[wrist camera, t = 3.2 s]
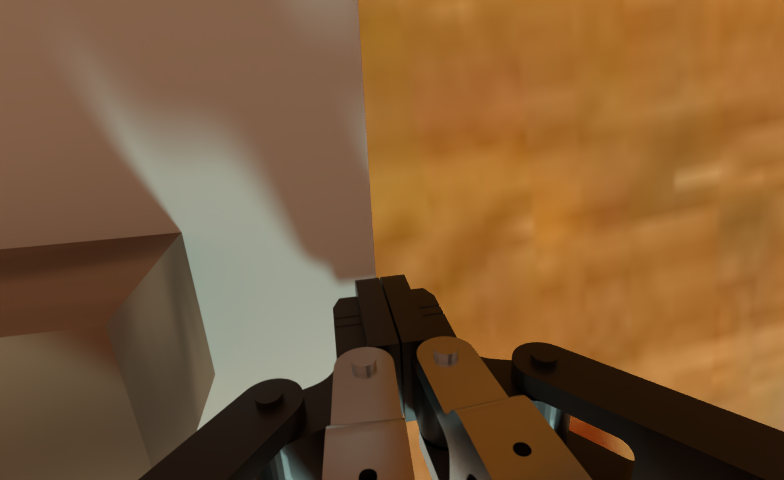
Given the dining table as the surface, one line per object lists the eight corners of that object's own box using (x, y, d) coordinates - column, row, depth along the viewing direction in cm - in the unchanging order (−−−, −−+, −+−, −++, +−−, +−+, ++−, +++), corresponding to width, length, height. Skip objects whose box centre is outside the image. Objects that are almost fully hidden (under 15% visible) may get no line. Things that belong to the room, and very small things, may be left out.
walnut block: (-96, 258, 12) (-366, 380, 7) (181, 232, 13) (104, 324, 8) (-22, 407, 13) (-199, 582, 9) (215, 374, 14) (168, 517, 10)
